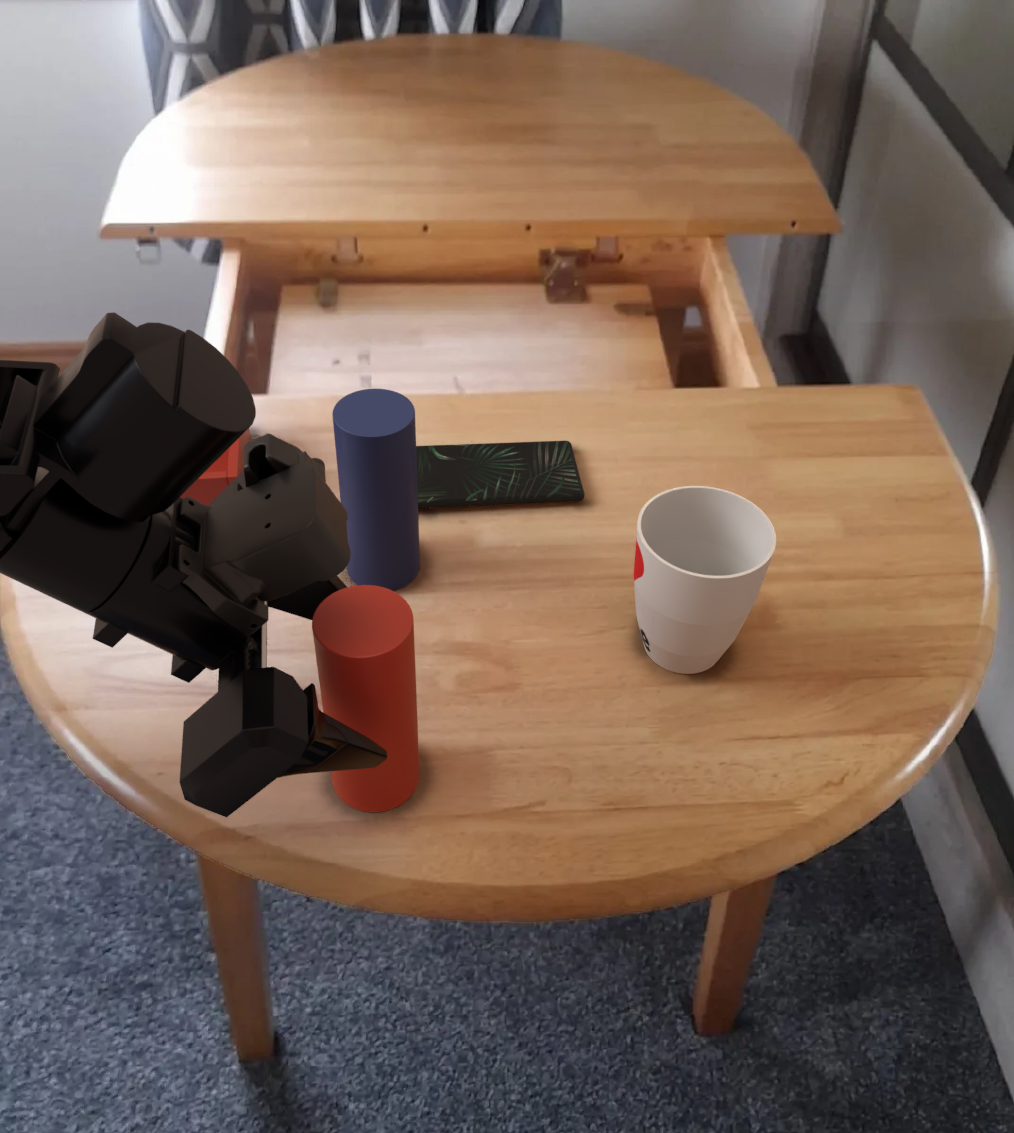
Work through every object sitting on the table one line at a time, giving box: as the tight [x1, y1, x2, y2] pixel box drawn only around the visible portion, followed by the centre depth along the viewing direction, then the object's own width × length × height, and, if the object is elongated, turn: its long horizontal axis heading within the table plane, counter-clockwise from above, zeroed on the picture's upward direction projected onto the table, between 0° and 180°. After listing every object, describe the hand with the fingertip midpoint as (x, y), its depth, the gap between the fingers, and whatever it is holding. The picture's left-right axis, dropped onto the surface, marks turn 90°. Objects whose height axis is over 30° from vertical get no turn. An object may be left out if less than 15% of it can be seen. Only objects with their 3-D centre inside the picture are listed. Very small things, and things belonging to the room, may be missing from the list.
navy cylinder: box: [332, 388, 421, 591], centre depth 72 cm, size 5×5×13 cm
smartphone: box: [416, 440, 585, 511], centre depth 83 cm, size 7×1×15 cm
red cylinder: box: [311, 584, 421, 813], centre depth 60 cm, size 5×5×13 cm
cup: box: [633, 485, 777, 675], centre depth 69 cm, size 8×8×10 cm
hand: (375, 689), depth 59 cm, fingers open, 9 cm apart
